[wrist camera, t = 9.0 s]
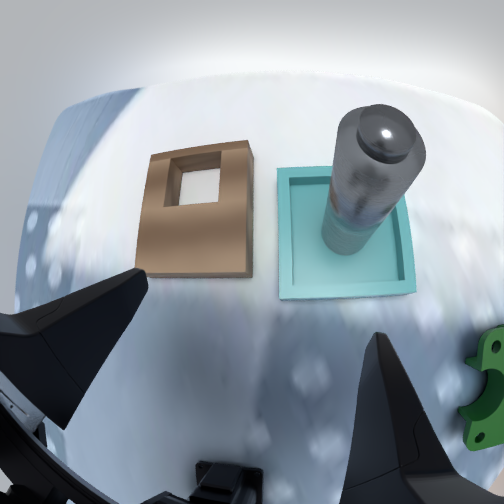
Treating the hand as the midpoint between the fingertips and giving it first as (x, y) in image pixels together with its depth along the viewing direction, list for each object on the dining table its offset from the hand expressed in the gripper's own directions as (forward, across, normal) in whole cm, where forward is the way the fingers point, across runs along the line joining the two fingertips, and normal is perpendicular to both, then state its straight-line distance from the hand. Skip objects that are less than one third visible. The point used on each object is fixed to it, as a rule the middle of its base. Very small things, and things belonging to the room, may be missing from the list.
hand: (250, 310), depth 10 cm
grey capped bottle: (+14, -4, +3) cm, 15 cm away
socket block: (+14, +10, +5) cm, 18 cm away
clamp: (+8, -22, +12) cm, 26 cm away
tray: (+15, -4, +4) cm, 16 cm away
